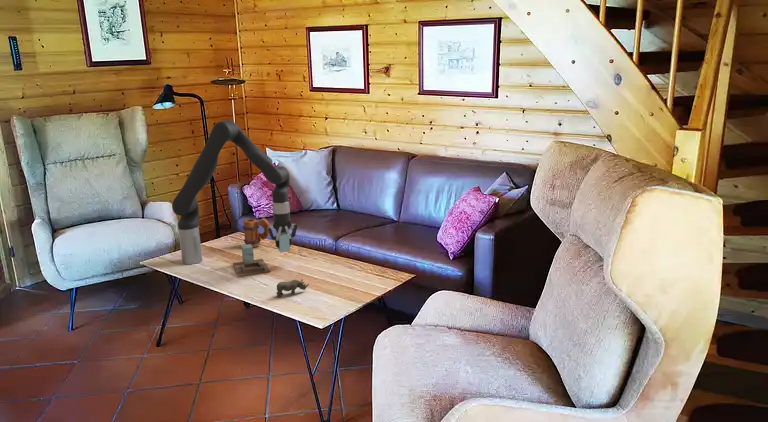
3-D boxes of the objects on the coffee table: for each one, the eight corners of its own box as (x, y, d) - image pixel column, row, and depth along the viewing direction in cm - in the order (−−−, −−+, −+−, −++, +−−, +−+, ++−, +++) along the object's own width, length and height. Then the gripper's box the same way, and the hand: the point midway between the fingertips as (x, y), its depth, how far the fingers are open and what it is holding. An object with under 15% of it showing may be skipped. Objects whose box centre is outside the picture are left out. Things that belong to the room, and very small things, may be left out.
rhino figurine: (310, 292, 235) (309, 279, 233) (277, 298, 230) (276, 284, 229) (308, 289, 239) (307, 275, 237) (275, 294, 234) (274, 281, 232)
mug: (241, 248, 295) (238, 220, 291) (247, 243, 302) (244, 216, 299) (268, 249, 292) (265, 221, 288) (273, 244, 300) (271, 216, 296)
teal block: (278, 249, 265) (276, 233, 263) (287, 248, 267) (286, 231, 265) (280, 252, 261) (279, 235, 259) (290, 251, 263) (288, 234, 261)
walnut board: (232, 265, 270) (231, 247, 268) (262, 260, 276) (260, 242, 273) (239, 277, 254) (237, 258, 252) (270, 272, 260) (268, 253, 257)
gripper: (294, 207, 265) (296, 242, 270) (263, 211, 260) (266, 246, 264) (298, 211, 259) (300, 247, 263) (267, 214, 253) (270, 251, 258)
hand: (283, 246), depth 264 cm, fingers closed on teal block, 4 cm apart
